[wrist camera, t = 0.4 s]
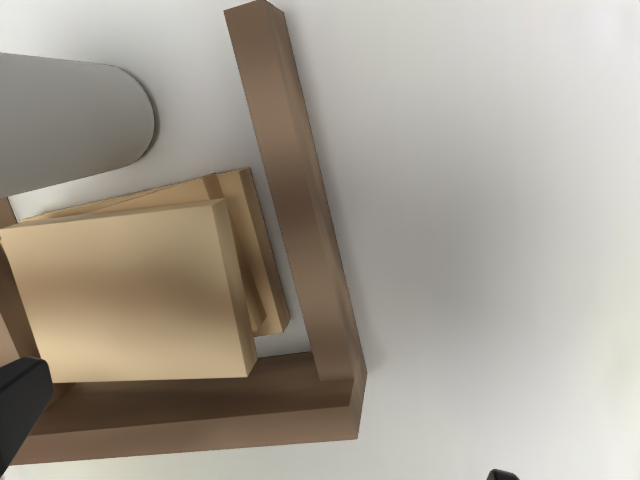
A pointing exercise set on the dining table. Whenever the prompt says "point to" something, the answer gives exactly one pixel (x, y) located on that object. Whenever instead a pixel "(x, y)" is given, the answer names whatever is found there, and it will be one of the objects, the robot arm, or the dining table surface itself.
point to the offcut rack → (268, 373)
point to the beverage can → (67, 121)
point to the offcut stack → (150, 282)
